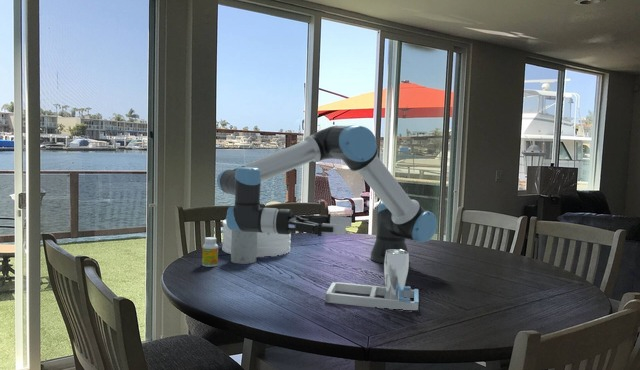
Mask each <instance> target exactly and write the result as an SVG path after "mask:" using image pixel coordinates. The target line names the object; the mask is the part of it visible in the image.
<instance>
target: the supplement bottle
mask: <svg viewBox="0 0 640 370" xmlns="http://www.w3.org/2000/svg"><path fill="white" fill-rule="evenodd" d="M201 257H202V258H201V259H202V260H201V261H202V262H201V265H202V266H203V267H205V268H206V267H208V268H213V267H216V266H217V267H218V260H219V245H218V244H217V237H214V236H213V237H212V236H209V237H207V236H206V237H205V238H204V244H203V245H202V255H201Z"/></svg>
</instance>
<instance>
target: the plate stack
mask: <svg viewBox="0 0 640 370" xmlns="http://www.w3.org/2000/svg"><path fill="white" fill-rule="evenodd" d="M291 234H292V232H291V233H290V234H288V235H287V234H278V233H270V235H267V232H266V233H261V232H257V254H256V258H265V257H264V256H271V257H278V256H277V255H279V256H283V254H284V255H287V254H289V253H291V239H292V235H291ZM221 237H222V240H221V244H222V245H221V250H222V251H223V252H224V253H226V254H230V255H231V242H232V230H231V229H229V228H228V226H227V223H226V219H224V220H223V221H222V236H221ZM288 252H289V253H288ZM286 253H287V254H286Z"/></svg>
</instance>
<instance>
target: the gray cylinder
mask: <svg viewBox="0 0 640 370" xmlns="http://www.w3.org/2000/svg"><path fill="white" fill-rule="evenodd" d="M256 254H257V232H241V231H236V230H232V242H231V254H230V262H232V263H234V264H240V265H241V264H242V265H245V264H246V265H248V264H249V263H250V264H254V263H257V257H256Z"/></svg>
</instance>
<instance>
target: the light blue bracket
mask: <svg viewBox="0 0 640 370" xmlns="http://www.w3.org/2000/svg"><path fill="white" fill-rule="evenodd" d="M411 287H412V286H409V285H407V286H406V285H405V287H404V290H408V291H411V290H412V288H411ZM413 290H414V299H413V301H414V303H418V305H419V303H420V302H419V300H420V299H419V289H418V288H414V289H413ZM410 301H411V299H410V298H404V297H399V302H409V303H410Z"/></svg>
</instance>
